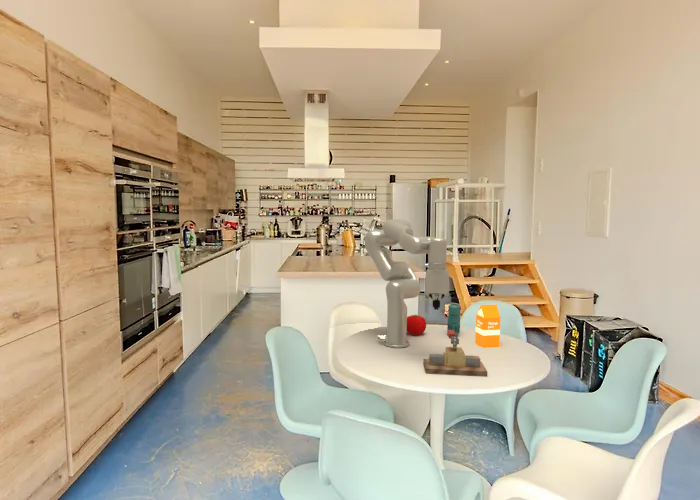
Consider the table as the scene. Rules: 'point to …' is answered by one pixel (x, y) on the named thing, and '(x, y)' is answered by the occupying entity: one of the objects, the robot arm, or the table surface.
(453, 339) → the lever
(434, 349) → the table surface
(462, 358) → the valve
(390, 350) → the table surface
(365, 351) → the table surface
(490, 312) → the orange juice
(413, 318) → the tomato
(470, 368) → the board
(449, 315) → the beverage bottle
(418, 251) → the robot arm
